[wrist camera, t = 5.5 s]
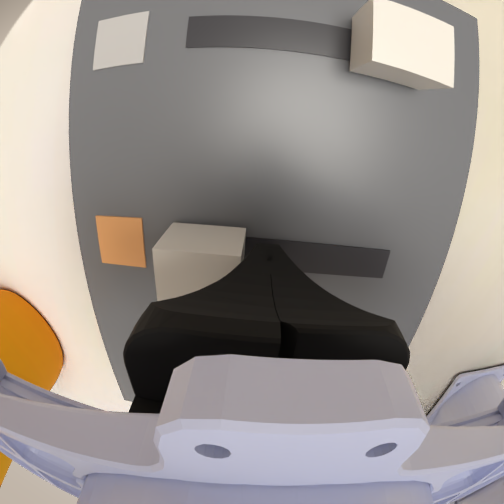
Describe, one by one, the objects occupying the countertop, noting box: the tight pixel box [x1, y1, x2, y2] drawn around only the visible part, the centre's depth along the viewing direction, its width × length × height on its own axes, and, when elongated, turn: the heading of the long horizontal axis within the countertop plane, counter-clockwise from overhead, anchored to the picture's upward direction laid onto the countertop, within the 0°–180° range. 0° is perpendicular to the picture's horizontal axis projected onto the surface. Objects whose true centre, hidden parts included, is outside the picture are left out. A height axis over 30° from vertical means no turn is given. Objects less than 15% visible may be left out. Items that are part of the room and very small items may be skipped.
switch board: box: [69, 0, 479, 402], centre depth 13 cm, size 26×18×2 cm
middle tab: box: [152, 222, 246, 301], centre depth 11 cm, size 2×3×2 cm
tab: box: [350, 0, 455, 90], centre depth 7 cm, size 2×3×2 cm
